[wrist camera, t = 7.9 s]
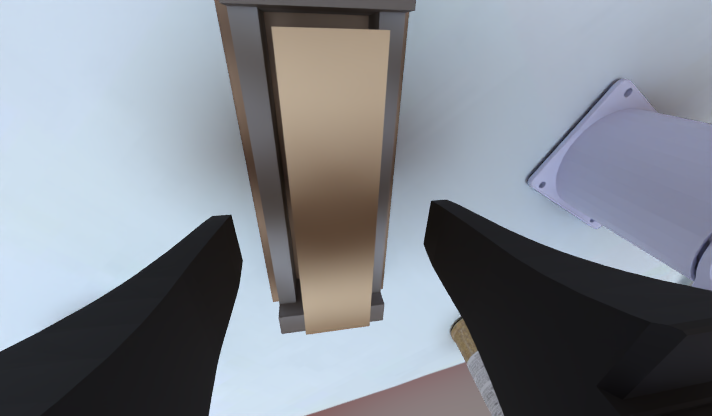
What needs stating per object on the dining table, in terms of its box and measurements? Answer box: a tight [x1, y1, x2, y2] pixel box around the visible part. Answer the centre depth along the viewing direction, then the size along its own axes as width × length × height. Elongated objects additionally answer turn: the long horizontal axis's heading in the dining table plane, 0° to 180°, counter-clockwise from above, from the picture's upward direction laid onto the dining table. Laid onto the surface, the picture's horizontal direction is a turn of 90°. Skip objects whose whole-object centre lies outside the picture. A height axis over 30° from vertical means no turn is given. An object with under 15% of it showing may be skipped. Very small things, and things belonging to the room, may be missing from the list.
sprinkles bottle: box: [451, 318, 504, 416], centre depth 23 cm, size 5×5×13 cm
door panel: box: [271, 27, 390, 335], centre depth 13 cm, size 13×3×6 cm, turn 179°
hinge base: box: [214, 0, 416, 334], centre depth 15 cm, size 20×8×4 cm, turn 179°
